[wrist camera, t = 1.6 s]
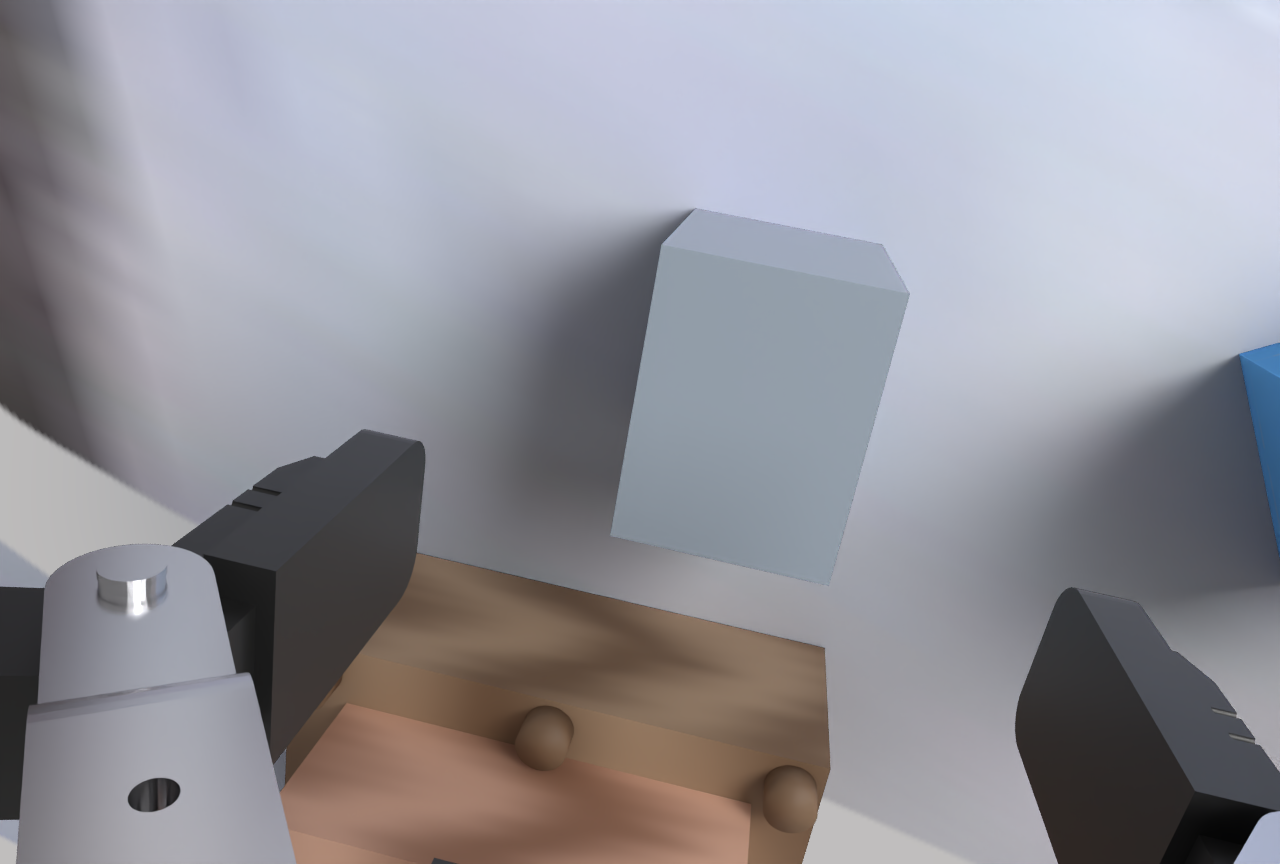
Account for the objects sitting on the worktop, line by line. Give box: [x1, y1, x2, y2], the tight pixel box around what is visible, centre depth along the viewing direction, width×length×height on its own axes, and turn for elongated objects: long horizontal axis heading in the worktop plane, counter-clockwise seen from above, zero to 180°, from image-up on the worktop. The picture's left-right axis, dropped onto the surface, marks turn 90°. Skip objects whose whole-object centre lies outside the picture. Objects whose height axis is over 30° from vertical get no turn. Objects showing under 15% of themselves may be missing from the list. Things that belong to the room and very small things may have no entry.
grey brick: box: [610, 208, 910, 586], centre depth 21 cm, size 4×6×6 cm
